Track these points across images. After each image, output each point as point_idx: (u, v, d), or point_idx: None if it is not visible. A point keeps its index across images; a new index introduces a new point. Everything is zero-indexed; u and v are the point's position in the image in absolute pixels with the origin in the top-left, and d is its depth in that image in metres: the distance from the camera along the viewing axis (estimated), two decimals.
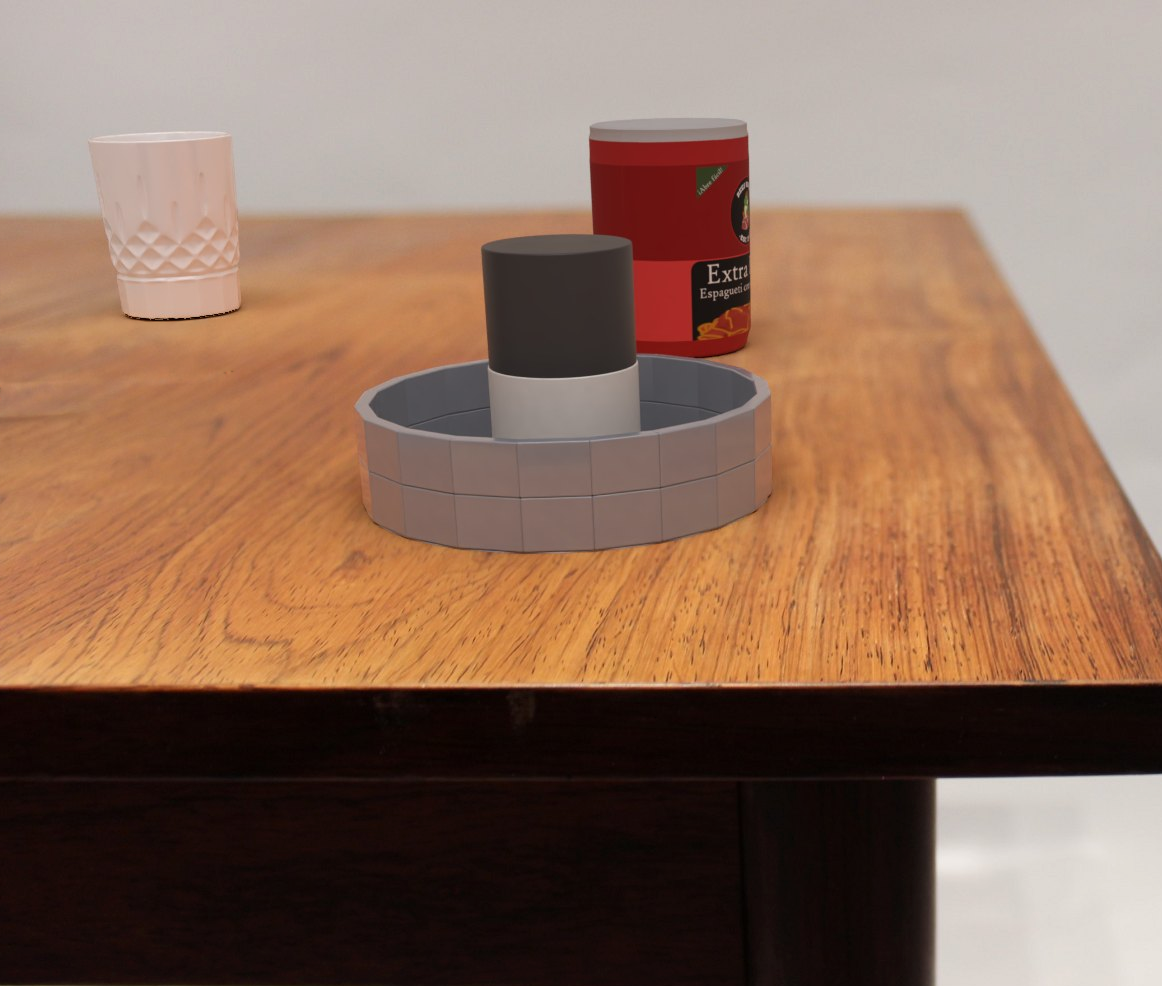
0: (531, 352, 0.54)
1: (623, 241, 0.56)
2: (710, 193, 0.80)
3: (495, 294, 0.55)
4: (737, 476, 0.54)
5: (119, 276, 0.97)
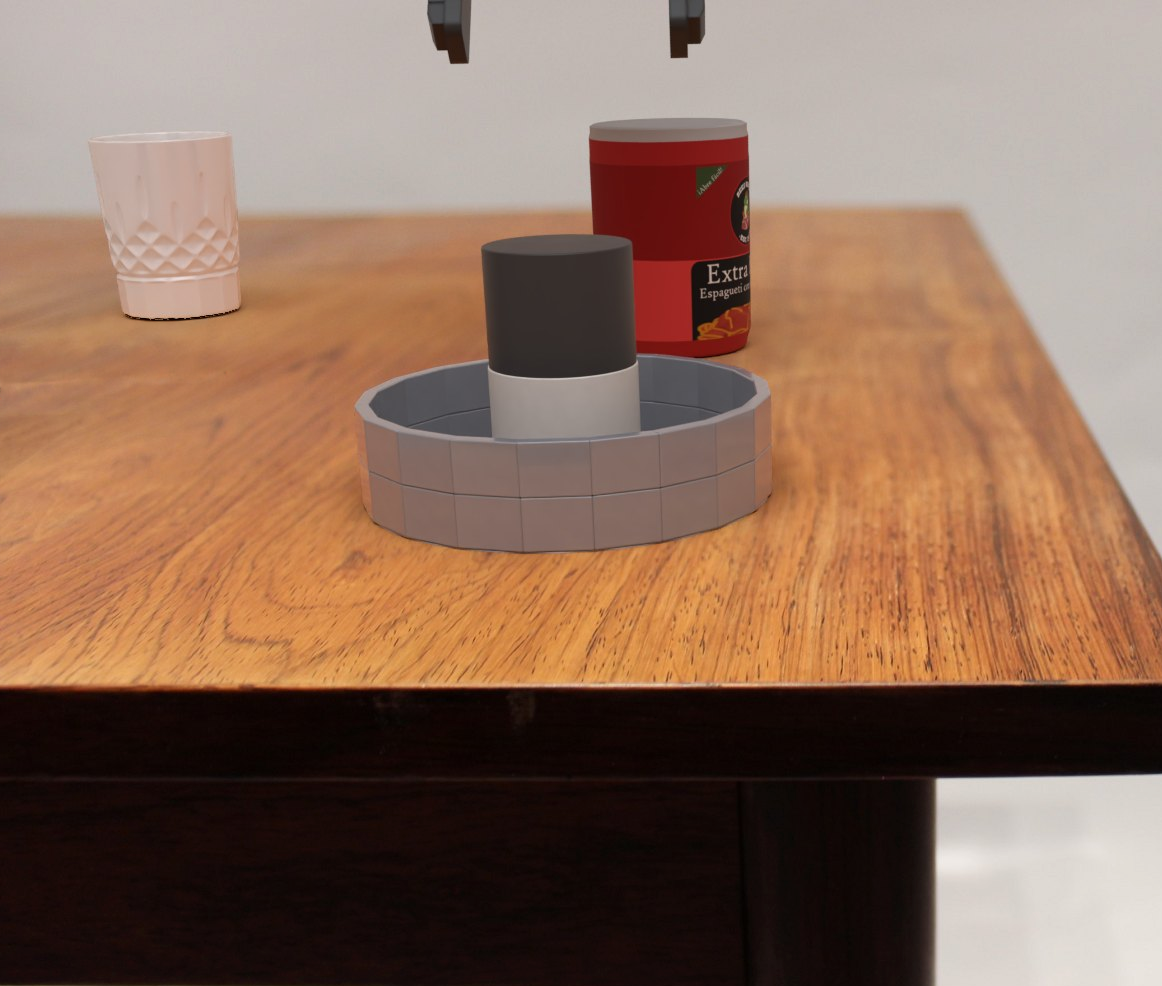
0: (531, 352, 0.54)
1: (623, 241, 0.56)
2: (710, 193, 0.80)
3: (495, 294, 0.55)
4: (737, 476, 0.54)
5: (119, 276, 0.97)
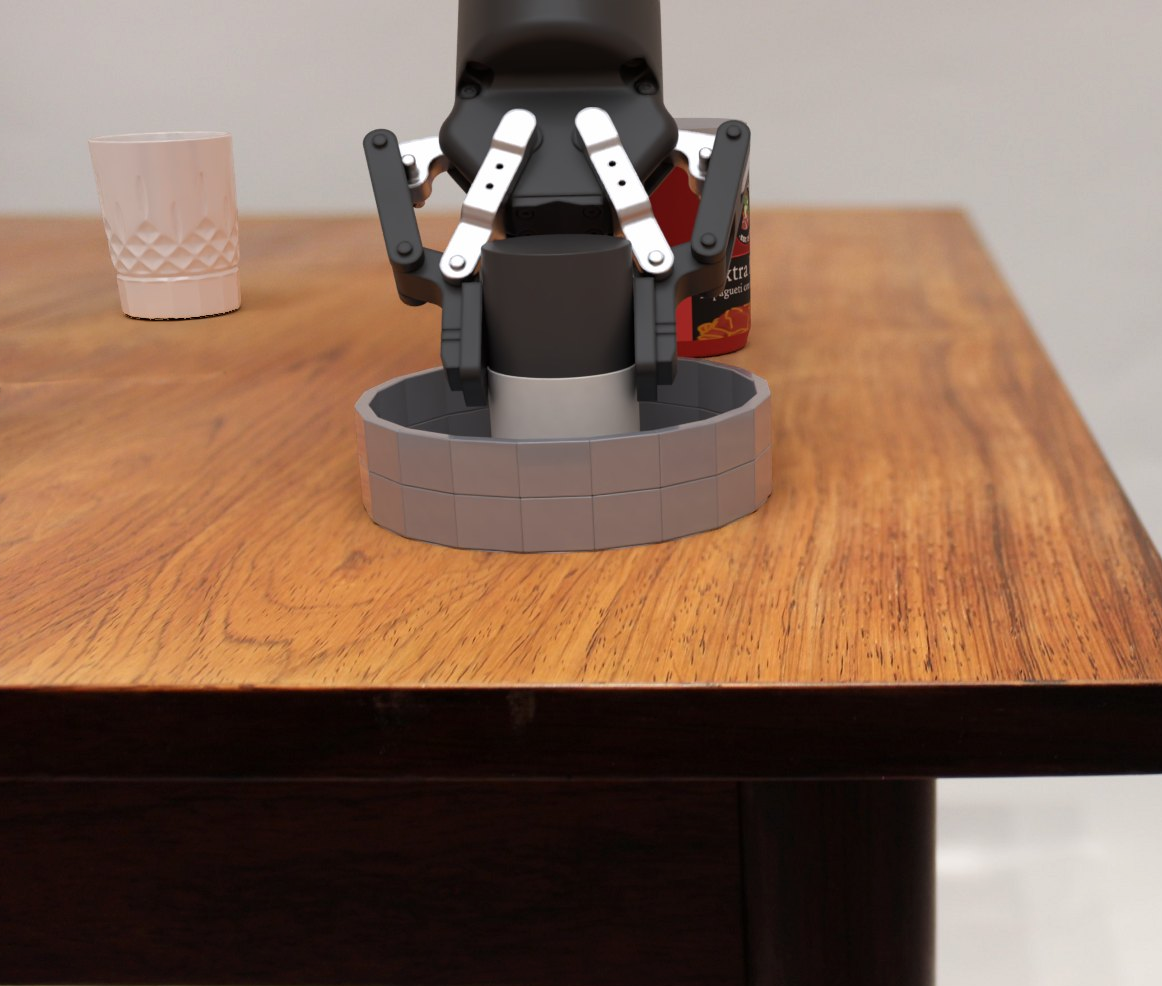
0: (530, 352, 0.54)
1: (623, 241, 0.56)
2: None
3: (494, 294, 0.55)
4: (737, 476, 0.54)
5: (119, 276, 0.97)
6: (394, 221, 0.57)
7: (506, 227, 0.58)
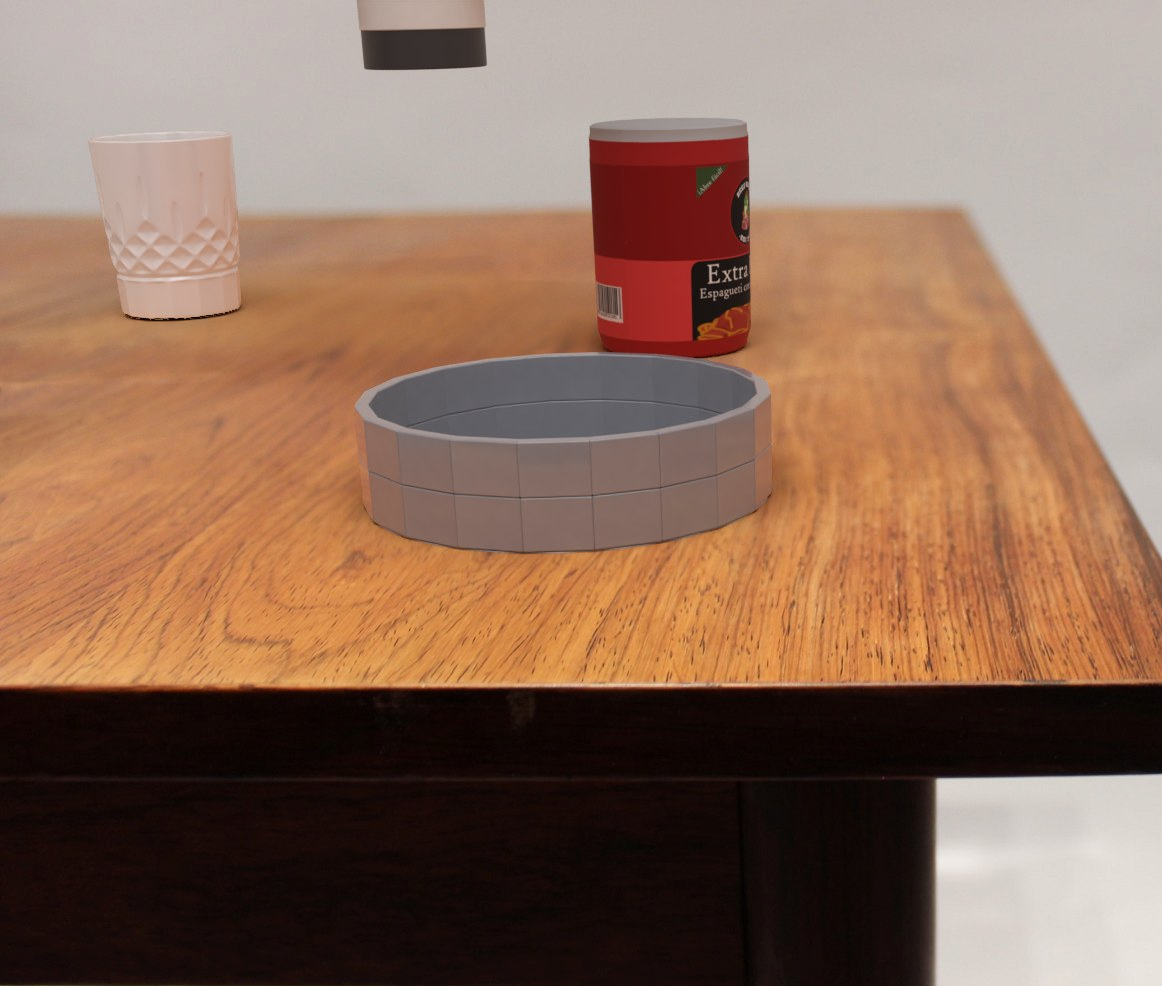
0: None
1: None
2: (710, 193, 0.80)
3: None
4: (737, 476, 0.54)
5: (119, 276, 0.97)
6: None
7: None
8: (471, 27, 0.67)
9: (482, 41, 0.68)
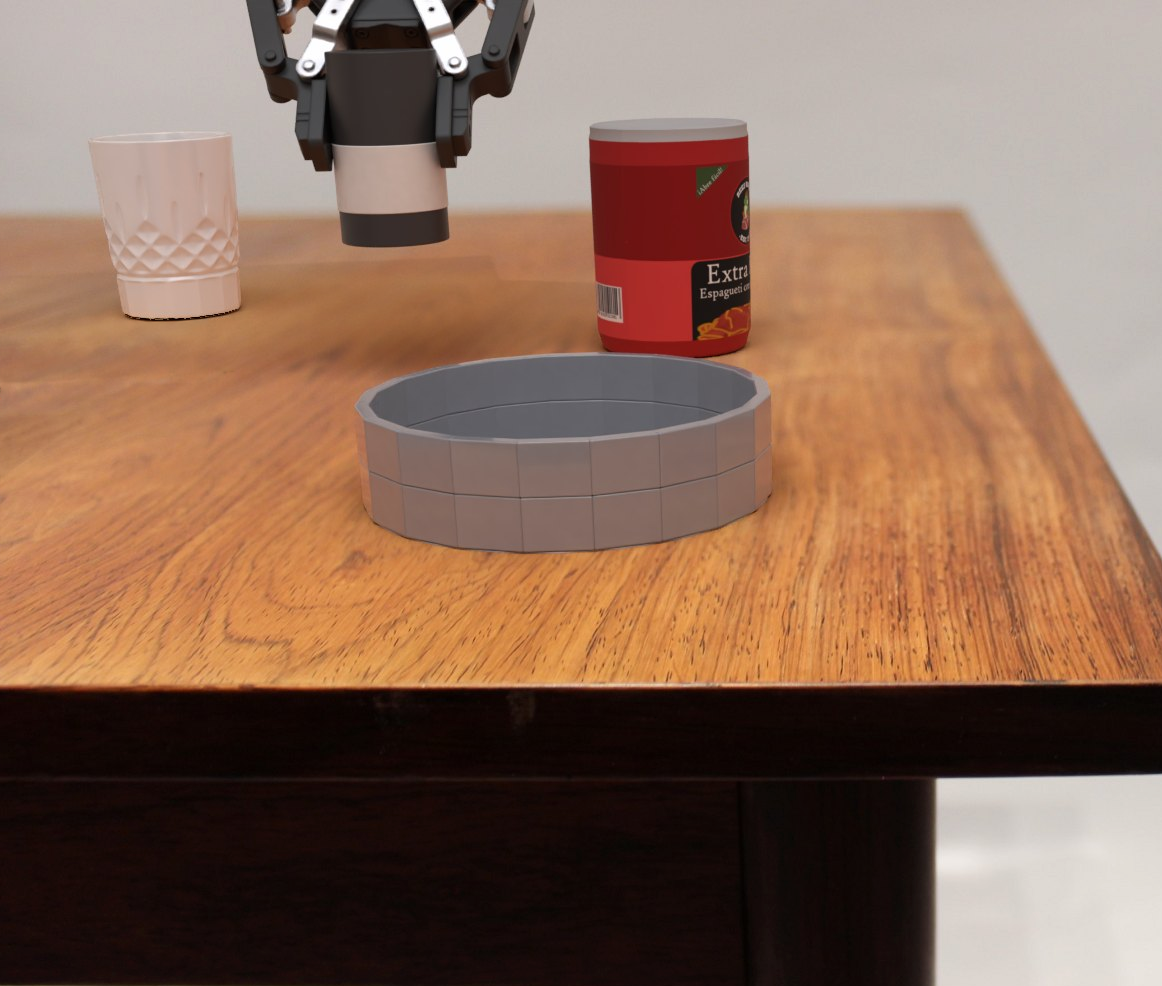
0: (359, 126, 0.75)
1: None
2: (710, 193, 0.80)
3: (333, 84, 0.75)
4: (737, 476, 0.54)
5: (119, 276, 0.97)
6: (263, 37, 0.77)
7: (349, 45, 0.79)
8: (435, 209, 0.77)
9: (444, 219, 0.78)
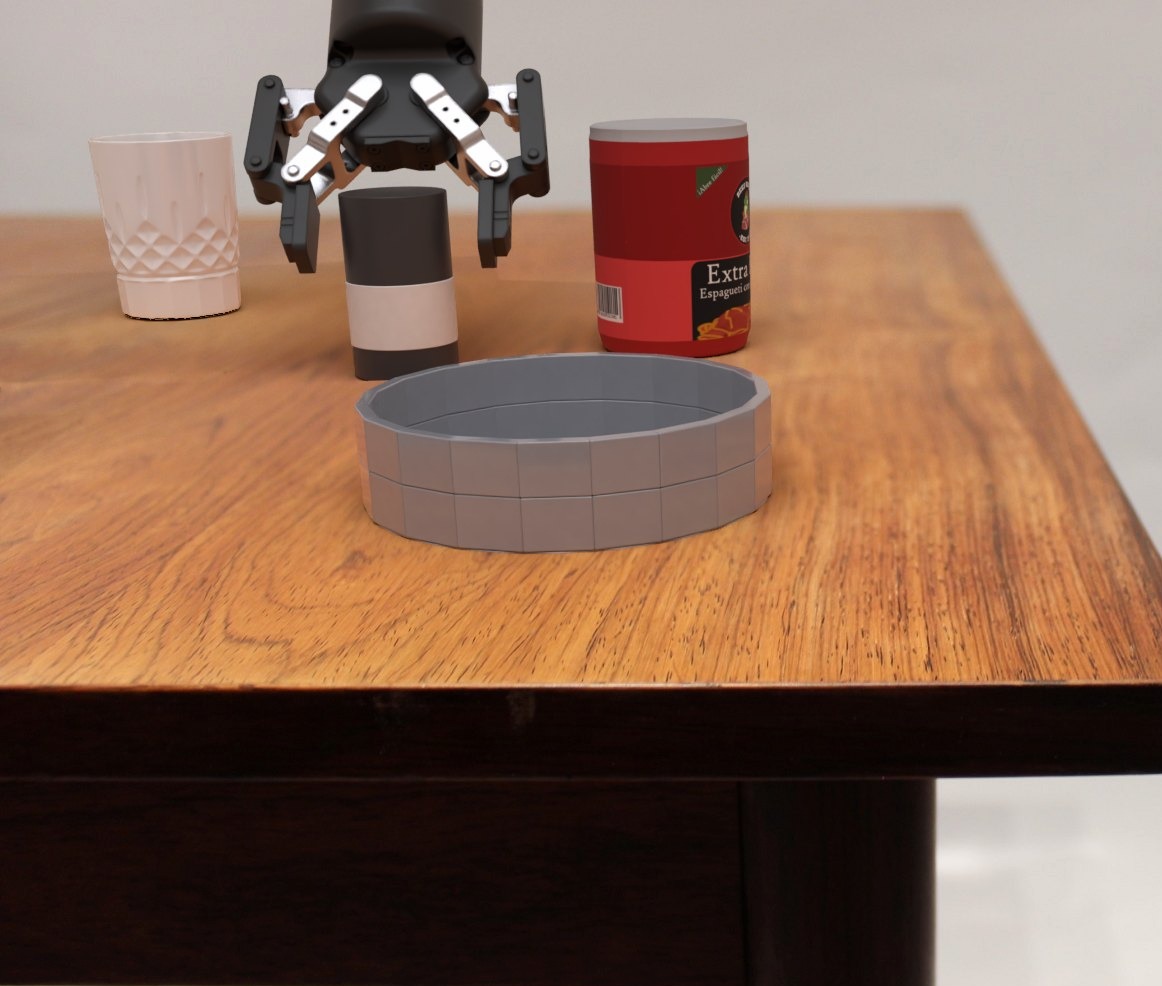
0: (372, 267, 0.77)
1: (440, 190, 0.78)
2: (710, 193, 0.80)
3: (346, 227, 0.77)
4: (737, 476, 0.54)
5: (119, 276, 0.97)
6: (257, 141, 0.79)
7: (362, 160, 0.81)
8: (445, 344, 0.79)
9: (455, 352, 0.80)
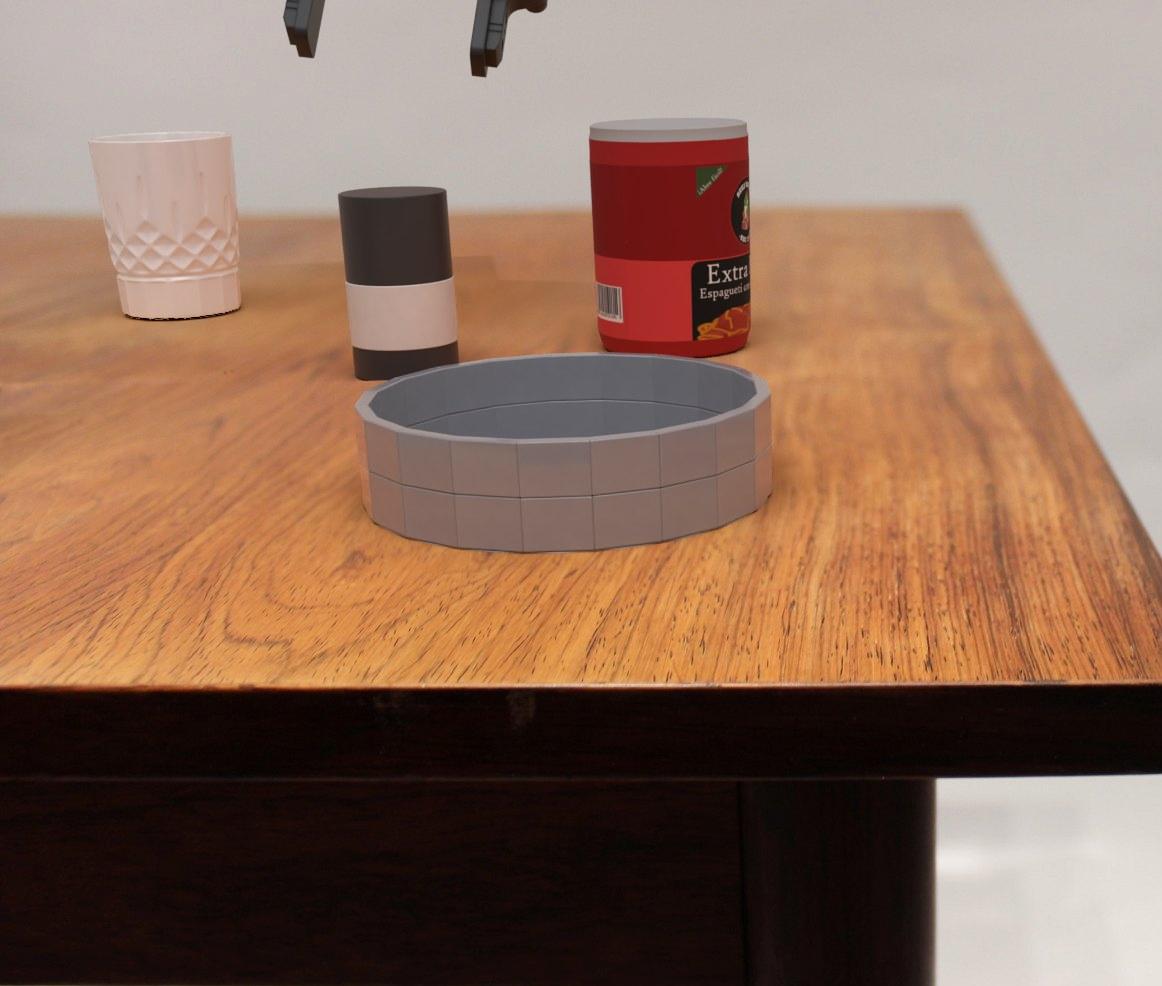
0: (372, 267, 0.77)
1: (440, 190, 0.78)
2: (710, 193, 0.80)
3: (346, 227, 0.77)
4: (737, 476, 0.54)
5: (119, 276, 0.97)
6: None
7: None
8: (445, 344, 0.79)
9: (455, 352, 0.80)
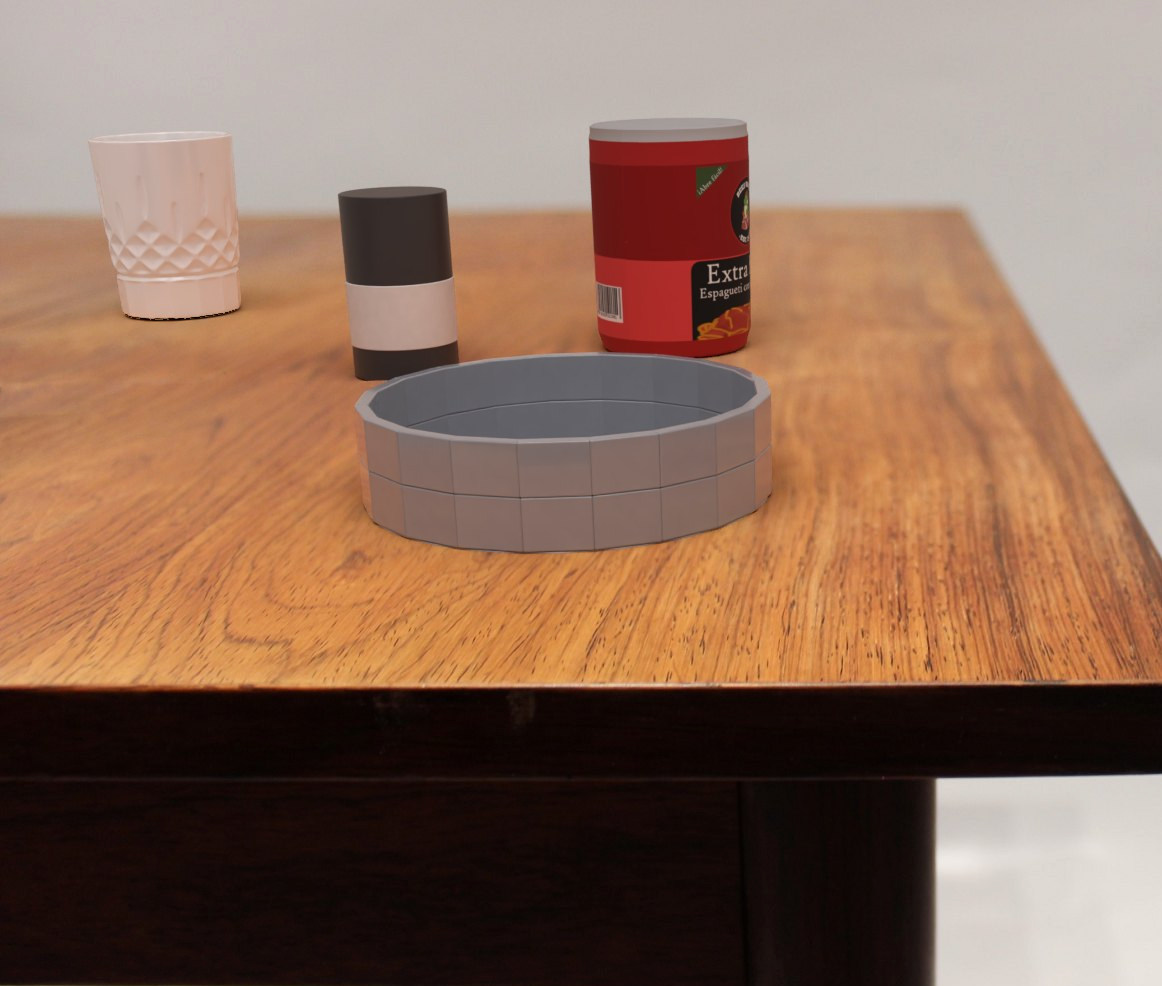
0: (372, 267, 0.77)
1: (440, 190, 0.78)
2: (710, 193, 0.80)
3: (346, 227, 0.77)
4: (737, 476, 0.54)
5: (119, 276, 0.97)
6: None
7: None
8: (445, 344, 0.79)
9: (455, 352, 0.80)
